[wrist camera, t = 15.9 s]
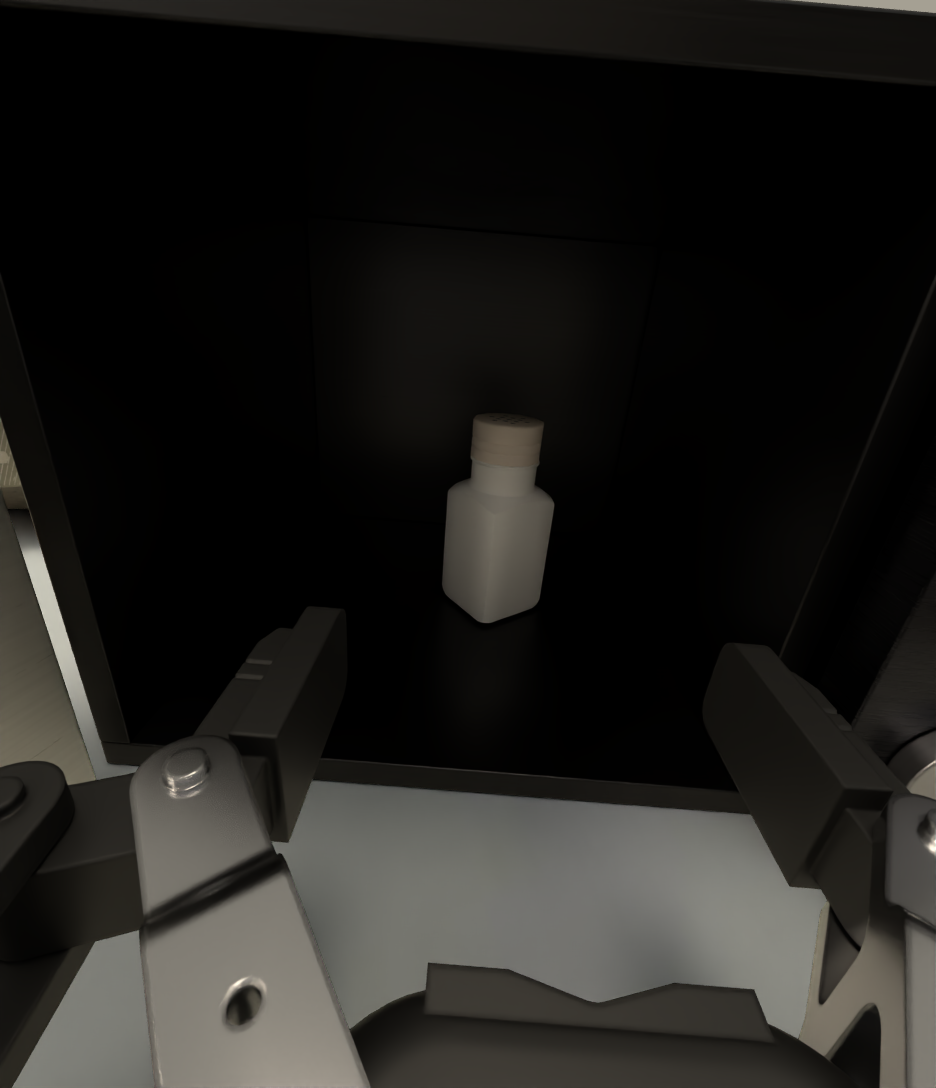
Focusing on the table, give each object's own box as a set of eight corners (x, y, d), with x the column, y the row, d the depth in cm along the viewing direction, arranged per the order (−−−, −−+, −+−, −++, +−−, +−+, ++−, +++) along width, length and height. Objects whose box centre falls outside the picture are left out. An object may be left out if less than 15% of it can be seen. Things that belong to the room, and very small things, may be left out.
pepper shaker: (481, 631, 24) (503, 432, 20) (436, 593, 27) (447, 412, 23) (542, 609, 26) (572, 426, 22) (494, 577, 29) (514, 409, 25)
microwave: (997, 904, 15) (1798, -32, 6) (49, 830, 15) (-379, -225, 6) (689, 551, 37) (779, 238, 29) (311, 520, 37) (292, 196, 28)
